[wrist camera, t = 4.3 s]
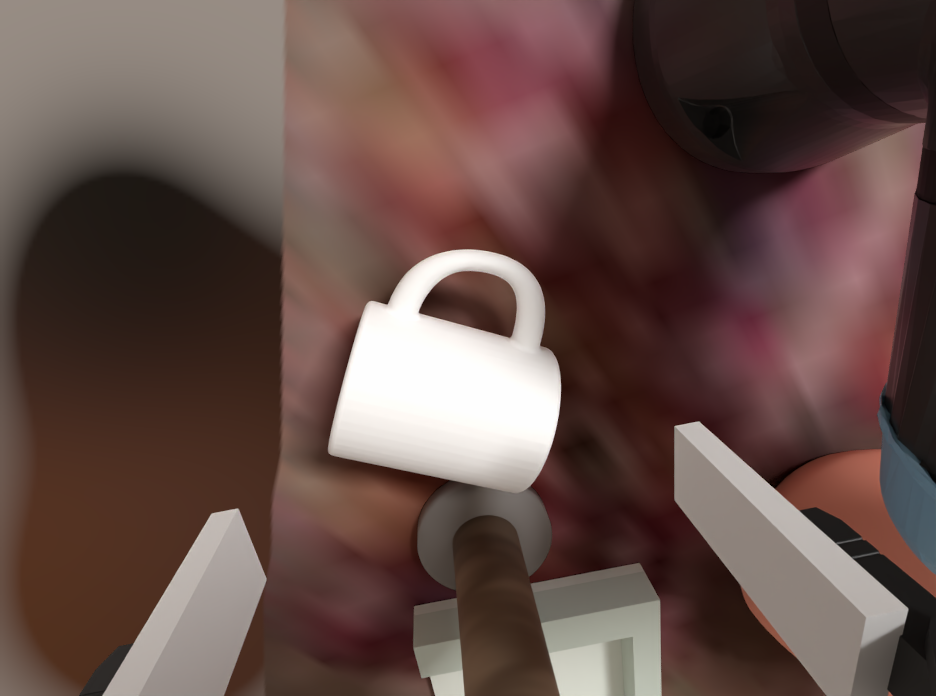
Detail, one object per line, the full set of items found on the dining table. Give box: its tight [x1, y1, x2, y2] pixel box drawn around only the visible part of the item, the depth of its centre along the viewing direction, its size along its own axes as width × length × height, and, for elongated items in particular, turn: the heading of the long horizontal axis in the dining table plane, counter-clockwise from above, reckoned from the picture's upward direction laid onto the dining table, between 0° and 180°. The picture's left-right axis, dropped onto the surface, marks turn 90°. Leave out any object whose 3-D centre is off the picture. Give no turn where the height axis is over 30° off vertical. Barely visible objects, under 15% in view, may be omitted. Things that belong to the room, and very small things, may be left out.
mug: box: [328, 249, 561, 493], centre depth 25 cm, size 12×10×8 cm
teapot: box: [740, 449, 936, 696], centre depth 30 cm, size 25×17×13 cm
